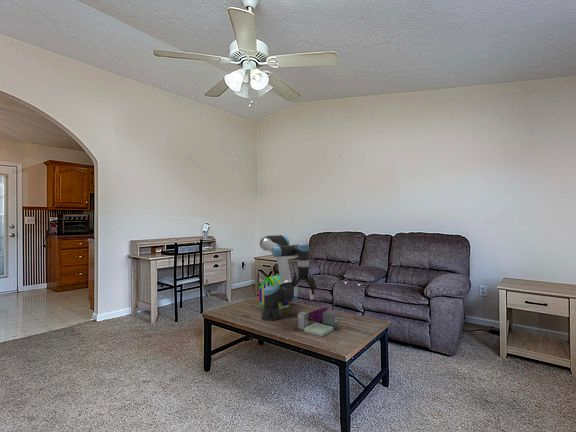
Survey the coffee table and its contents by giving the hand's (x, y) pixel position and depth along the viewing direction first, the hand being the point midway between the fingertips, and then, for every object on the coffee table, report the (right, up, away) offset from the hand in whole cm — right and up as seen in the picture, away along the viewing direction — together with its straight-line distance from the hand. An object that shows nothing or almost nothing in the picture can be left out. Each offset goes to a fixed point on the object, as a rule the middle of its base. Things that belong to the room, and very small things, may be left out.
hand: (303, 297), depth 222 cm
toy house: (-22, -21, +56) cm, 64 cm away
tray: (+10, -20, -7) cm, 24 cm away
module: (0, -21, 0) cm, 21 cm away
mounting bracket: (+9, -21, +18) cm, 29 cm away
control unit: (+18, -20, 0) cm, 27 cm away
